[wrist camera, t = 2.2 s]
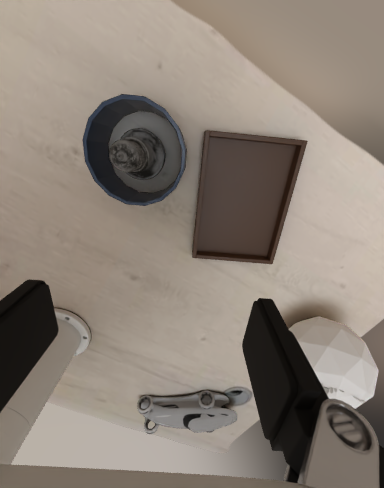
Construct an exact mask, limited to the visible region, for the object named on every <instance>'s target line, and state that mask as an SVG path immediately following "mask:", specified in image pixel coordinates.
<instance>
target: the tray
mask: <svg viewBox="0 0 384 488" xmlns="http://www.w3.org/2000/svg"><path fill="white" fill-rule="evenodd" d="M306 145H307V141H305V140H295V139H286V138H276V137H266V136H257V135H247V134H237V133H227V132H218V131H208V130H206V131H205V133H204V143H203V153H202V163H201V172H200V182H199V192H198V202H197V212H196V222H195V232H194V241H193V251H192V257H193V258H202V259H215V260H227V261H240V262H252V263H265V264H273V260H274V257H275V253H276V250H277V246H278V243H279V239H280V236H281V232H282V229H283V225H284V222H285V218H286V215H287V211H288V208H289V204H290V201H291V197H292V194H293V190H294V187H295V183H296V180H297V176H298V173H299V169H300V166H301V162H302V159H303V155H304V152H305V148H306Z"/></svg>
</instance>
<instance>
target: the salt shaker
mask: <svg viewBox="0 0 384 488" xmlns="http://www.w3.org/2000/svg"><path fill="white" fill-rule="evenodd" d="M110 159H111V161H112V163H113V165H114V166H115V167H116V168H118V169H119V170H121V171H124V172H126V173H127V174H128V175H130V176H131V177H133V178H136V179H140V180H146V179H150V178H152V177H154V176H155V175H157V174H158V173H159V171H160V170H161V169H162V166H163V164H164V162H165V150H164V148H163V145H162V144H161V142H160V141H159V139H158V138H157V137H156V136H155V135H154V134H153V133H151V132H149V131H147V130H145V129H140V128H138V129H132V130H129V131H127V132H126V133H125V134H124V135H123V136H122V137H121V139H120V140H118V141H116V142H115V143H114V144H112V146H111V148H110Z"/></svg>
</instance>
